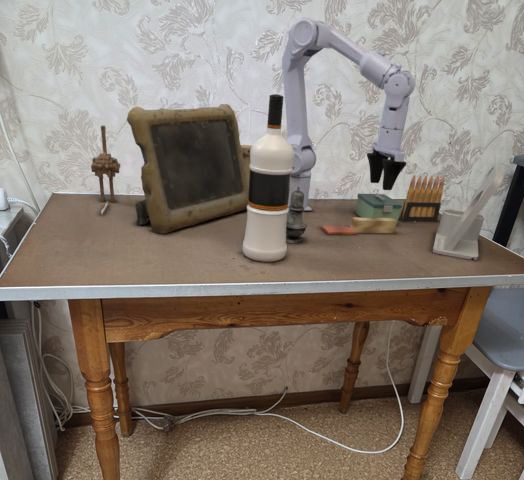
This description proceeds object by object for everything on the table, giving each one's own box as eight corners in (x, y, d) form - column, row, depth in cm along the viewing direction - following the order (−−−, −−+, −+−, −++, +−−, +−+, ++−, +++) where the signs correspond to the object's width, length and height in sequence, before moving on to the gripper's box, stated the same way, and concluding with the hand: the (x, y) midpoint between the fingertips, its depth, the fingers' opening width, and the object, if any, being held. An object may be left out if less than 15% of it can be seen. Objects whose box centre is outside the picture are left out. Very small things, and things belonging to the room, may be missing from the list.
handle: (231, 201, 137) (233, 144, 129) (252, 201, 139) (256, 145, 131) (234, 205, 133) (237, 147, 125) (257, 205, 135) (261, 148, 127)
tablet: (173, 238, 106) (170, 112, 93) (127, 225, 112) (118, 104, 99) (253, 210, 130) (259, 107, 118) (211, 200, 136) (213, 101, 123)
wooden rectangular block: (328, 234, 117) (330, 221, 115) (321, 228, 121) (323, 215, 119) (396, 234, 121) (398, 222, 119) (387, 228, 125) (390, 216, 123)
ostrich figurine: (97, 197, 130) (90, 124, 121) (123, 198, 132) (117, 126, 122) (86, 214, 116) (77, 133, 107) (115, 215, 117) (108, 135, 108)
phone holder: (436, 232, 125) (455, 159, 116) (477, 239, 122) (500, 165, 113) (432, 252, 111) (453, 170, 102) (478, 260, 108) (504, 177, 99)
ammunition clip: (402, 221, 132) (413, 175, 126) (399, 219, 134) (409, 174, 128) (437, 221, 135) (448, 176, 129) (433, 219, 136) (445, 175, 130)
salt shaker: (298, 245, 108) (304, 191, 102) (275, 239, 111) (280, 186, 104) (309, 239, 112) (316, 186, 106) (287, 234, 115) (293, 182, 109)
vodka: (233, 251, 102) (240, 91, 86) (268, 245, 107) (281, 92, 91) (258, 266, 96) (271, 96, 80) (294, 259, 101) (313, 97, 85)
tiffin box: (370, 225, 127) (375, 201, 123) (353, 212, 137) (357, 189, 134) (398, 225, 128) (403, 201, 125) (379, 212, 138) (384, 190, 135)
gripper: (421, 133, 111) (408, 193, 118) (393, 125, 123) (382, 180, 130) (393, 131, 110) (381, 192, 117) (368, 123, 122) (358, 179, 129)
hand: (380, 186), depth 123 cm, fingers open, 7 cm apart
